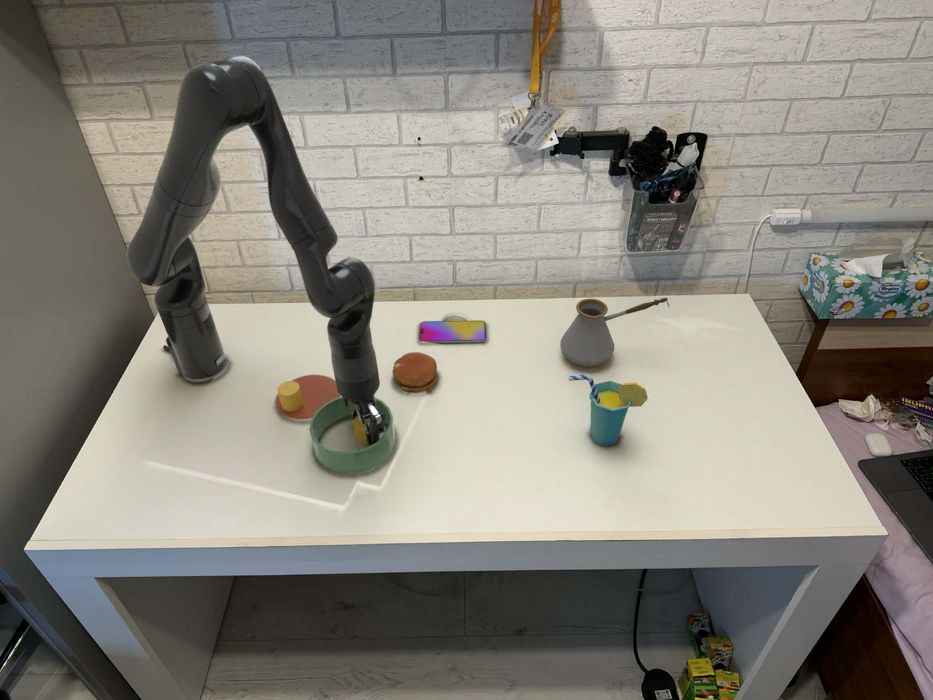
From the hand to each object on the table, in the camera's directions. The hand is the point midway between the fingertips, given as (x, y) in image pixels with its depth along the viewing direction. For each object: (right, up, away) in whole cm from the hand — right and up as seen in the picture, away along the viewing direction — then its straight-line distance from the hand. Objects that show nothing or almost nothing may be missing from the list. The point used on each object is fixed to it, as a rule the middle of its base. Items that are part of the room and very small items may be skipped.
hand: (367, 434), depth 124 cm
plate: (-13, +6, +9) cm, 17 cm away
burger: (+8, +10, +13) cm, 18 cm away
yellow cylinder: (-16, +5, +7) cm, 18 cm away
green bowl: (-2, -2, 0) cm, 3 cm away
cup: (+44, 0, 0) cm, 44 cm away
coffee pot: (+50, +15, +18) cm, 55 cm away
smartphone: (+16, +20, +25) cm, 36 cm away
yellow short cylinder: (0, 0, 0) cm, 1 cm away
